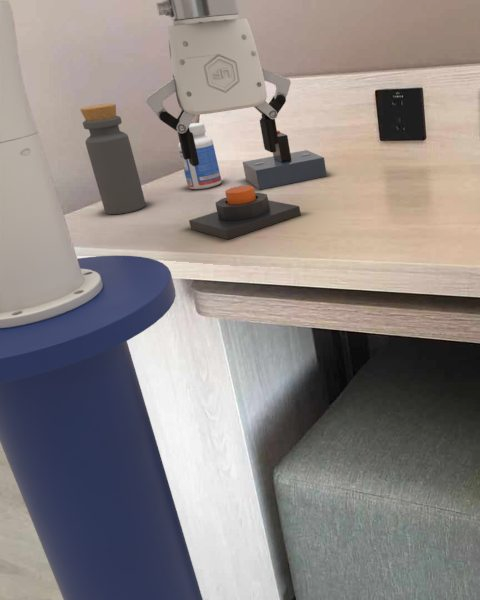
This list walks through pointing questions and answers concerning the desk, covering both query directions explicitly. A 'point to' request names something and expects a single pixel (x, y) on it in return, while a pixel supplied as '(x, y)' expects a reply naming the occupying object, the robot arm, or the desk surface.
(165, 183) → the desk surface
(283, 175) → the panel
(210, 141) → the pill bottle
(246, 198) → the switch
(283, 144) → the black toggle lever
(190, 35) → the robot arm
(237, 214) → the switch base
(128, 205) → the bottle
